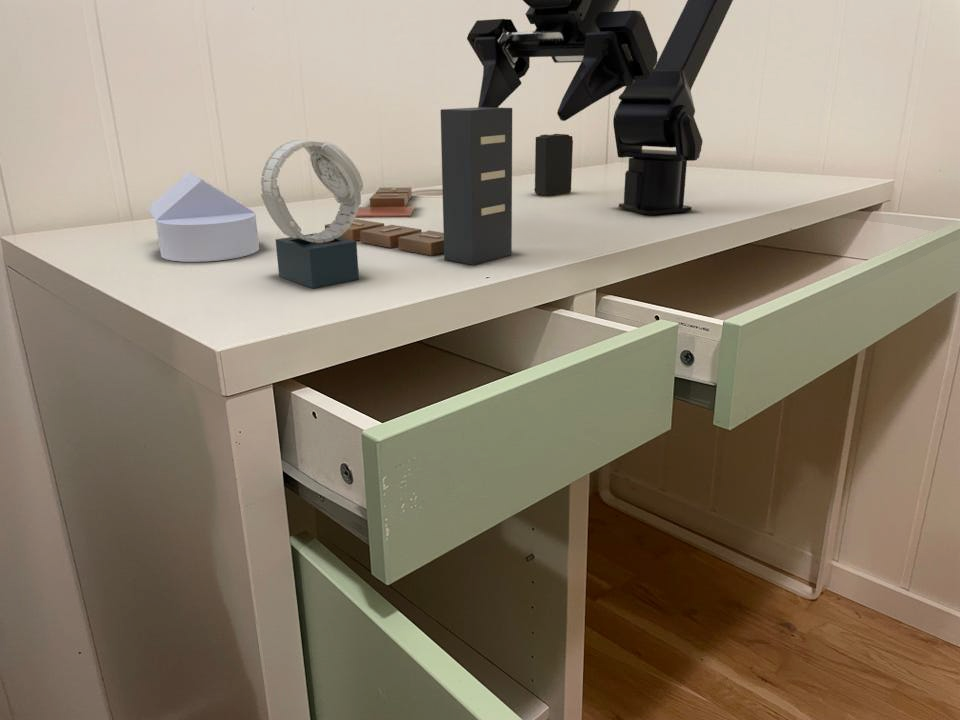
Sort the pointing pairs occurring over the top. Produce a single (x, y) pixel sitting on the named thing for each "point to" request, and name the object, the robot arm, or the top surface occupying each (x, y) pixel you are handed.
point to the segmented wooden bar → (395, 237)
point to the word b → (388, 203)
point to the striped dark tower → (477, 183)
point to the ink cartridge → (553, 164)
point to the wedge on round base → (203, 223)
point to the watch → (323, 252)
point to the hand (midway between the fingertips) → (519, 116)
